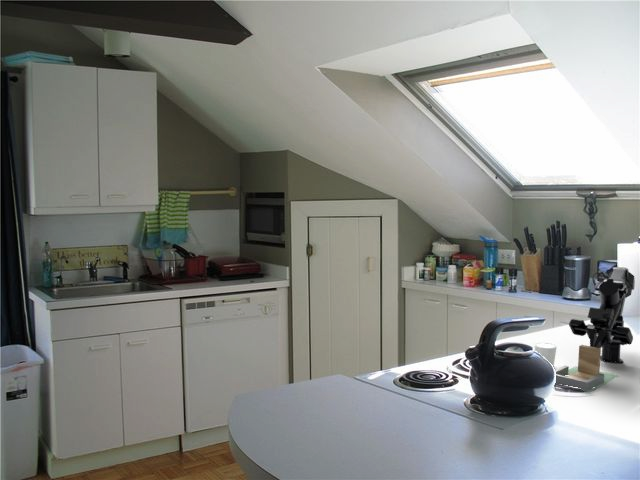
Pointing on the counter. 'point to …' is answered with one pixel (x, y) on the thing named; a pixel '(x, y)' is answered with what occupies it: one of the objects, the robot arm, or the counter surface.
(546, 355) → the white cup
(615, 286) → the robot arm
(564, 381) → the pocket
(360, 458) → the counter surface
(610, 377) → the mat
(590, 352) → the bookend
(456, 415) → the counter surface
